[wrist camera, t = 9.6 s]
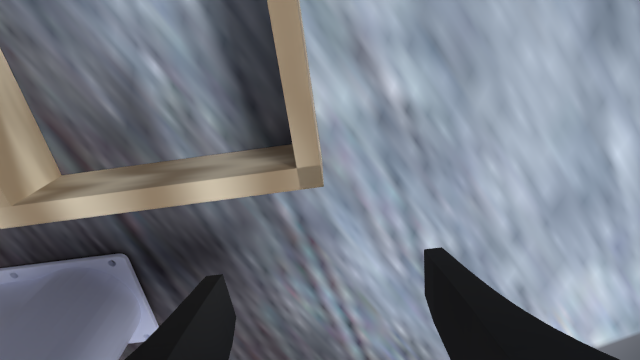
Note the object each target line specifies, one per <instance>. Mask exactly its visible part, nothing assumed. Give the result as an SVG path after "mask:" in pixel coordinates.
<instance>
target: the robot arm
mask: <svg viewBox="0 0 640 360" xmlns="http://www.w3.org/2000/svg"><path fill="white" fill-rule="evenodd" d="M111 260H113V261H115V263H114V262H112V261H111ZM424 273H425V297H426V300H427V303H428V306H429V310H430V313H431V316H432V319H433V322H434V324H435V326H436V328H437V331H438V333H439V335H440V337H441V339H442V342H443V344H444V346H445V348H446V350H447V352H448V355H449V357H450V359H451V360H619V359H617V358H615V357H612V356H610V355H608V354H606V353H603V352H601V351H599V350H597V349H595V348H592V347H590V346H588V345H586V344H584V343H582V342H580V341H578V340H576V339H574V338H572V337H570V336H568V335H566V334H565V333H563V332H561V331H559V330H557V329H555V328H553V327H551V326H550V325H548V324H546V323H544V322H543V321H541V320H539V319H538V318H536V317H534V316H533V315H531V314H529V313H528V312H526V311H524V310H523V309H521V308H520V307H518V306H516V305H515V304H513V303H512V302H510V301H509V300H508V299H506V298H505V297H503V296H502V295H500V294H499V293H498V292H496V291H495V290H493V289H492V288H491V287H489V286H488V285H487V284H486V283H484V282H483V281H482V280H480V279H479V278H478V277H477V276H475V275H474V274H473V273H472V272H470V271H469V270H468V269H467V268H466V267H464V266H463V265H462V264H461V263H460V262H458V261H457V260H456V259H455V258H454V257H453V256H451V255H450V254H449V253H448V252H447V251H445V250H444V249H443V248H442V247H441V248H433V249H425V250H424ZM235 322H236V315H235V311H234V308H233V305H232V302H231V299H230V296H229V292H228V289H227V286H226V283H225V280H224V277H223V274H221V275H212V276H206V277H205V278H204V279H203V280H202V281H201V282H200V283H199V284H198V286H197V287H196V288H195V289H194V290H193V291H192V292H191V293H190V294H189V296H188V297H187V298H186V299H185V300H184V301H183V302H182V303H181V304H180V305H179V307H178V308H177V309H176V310H175V311H174V312H173V313H172V314H171V315H170V316H169V317H168V318H167V319H166V321H165V322H164V323H163V324H162V325H161V326H160V327H159V326H158V323H157V321H156V319H155V317H154V314H153V312H152V310H151V308H150V305H149V303H148V301H147V299H146V297H145V294H144V292H143V290H142V288H141V285H140V283H139V281H138V279H137V276H136V274H135V272H134V270H133V267H132V265H131V263H130V261H129V258H128V257H127V256H126V255H124V254H120V253H119V254H111V255H103V256H95V257H87V258H79V259H71V260H63V261H55V262H47V263H39V264H31V265H23V266H16V267H8V268H0V360H119V358H120V356H121V355H122V353H123V351H124V349H125V348H126V346H127V344H128V343H136V342H144V343H142V344H141V345H140V346H139V347H138V348H137V349H136V350H135V351H134V352H133V353H132V354H130V355H129V356H128V357H127V358H126V359H125V360H228V359H229V355H230V351H231V347H232V343H233V336H234V330H235Z"/></svg>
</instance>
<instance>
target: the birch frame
mask: <svg viewBox="0 0 640 360" xmlns="http://www.w3.org/2000/svg"><path fill="white" fill-rule="evenodd" d="M267 3H268V8H269V14H270V20H271V25H272V31H273V37H274V42H275V48H276V54H277V59H278V65H279V70H280V76H281V82H282V87H283V93H284V99H285V104H286V110H287V116H288V121H289V127H290V133H291V138H292V144H290V145H282V146H275V147H268V148H260V149H253V150H246V151H238V152H231V153H224V154H216V155H209V156H201V157H194V158H187V159H179V160H172V161H165V162H157V163H150V164H143V165H135V166H128V167H121V168H113V169H106V170H99V171H91V172H84V173H77V174H69V175H61V173H60V171H59V169H58V167H57V165H56V162H55V160H54V158H53V156H52V154H51V152H50V150H49V148H48V146H47V144H46V142H45V140H44V138H43V136H42V134H41V132H40V129H39V127H38V125H37V123H36V121H35V119H34V117H33V115H32V113H31V111H30V109H29V107H28V105H27V103H26V101H25V98H24V96H23V94H22V92H21V90H20V88H19V86H18V84H17V82H16V80H15V78H14V76H13V74H12V72H11V70H10V67H9V65H8V63H7V61H6V59H5V57H4V55H3V53H2V51H1V49H0V228H1V229H3V228H11V227H18V226H26V225H34V224H41V223H49V222H57V221H64V220H72V219H79V218H87V217H95V216H102V215H110V214H118V213H125V212H133V211H141V210H148V209H156V208H164V207H171V206H179V205H186V204H194V203H202V202H209V201H217V200H225V199H232V198H240V197H248V196H255V195H263V194H271V193H278V192H286V191H293V190H301V189H309V188H316V187H324V184H323V169H322V156H321V149H320V142H319V135H318V128H317V121H316V114H315V107H314V100H313V94H312V87H311V80H310V73H309V66H308V59H307V52H306V45H305V38H304V31H303V24H302V17H301V10H300V3H299V0H267Z"/></svg>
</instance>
